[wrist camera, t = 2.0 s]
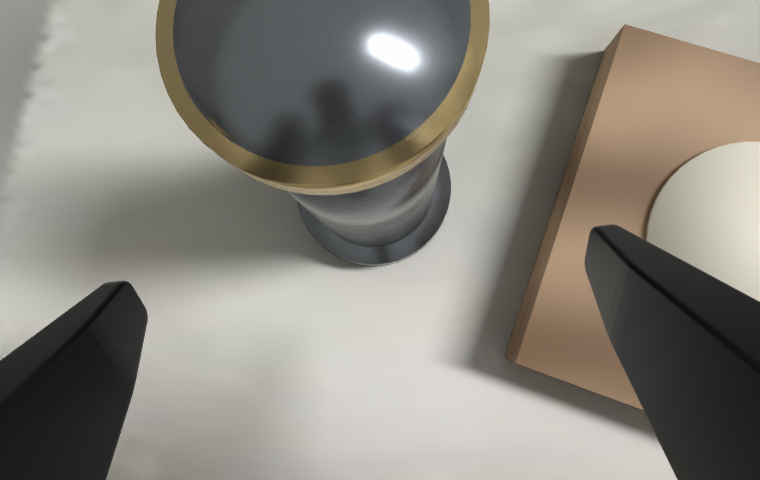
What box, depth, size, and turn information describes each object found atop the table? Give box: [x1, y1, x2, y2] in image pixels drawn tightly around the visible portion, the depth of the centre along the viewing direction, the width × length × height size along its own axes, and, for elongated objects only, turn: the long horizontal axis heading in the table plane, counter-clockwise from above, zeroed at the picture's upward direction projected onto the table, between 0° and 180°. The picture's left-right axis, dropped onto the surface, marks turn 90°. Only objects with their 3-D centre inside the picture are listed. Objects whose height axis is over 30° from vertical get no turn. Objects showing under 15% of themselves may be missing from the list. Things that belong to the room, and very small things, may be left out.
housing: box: [156, 0, 490, 266], centre depth 14 cm, size 6×6×13 cm
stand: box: [505, 25, 760, 410], centre depth 19 cm, size 14×14×2 cm
